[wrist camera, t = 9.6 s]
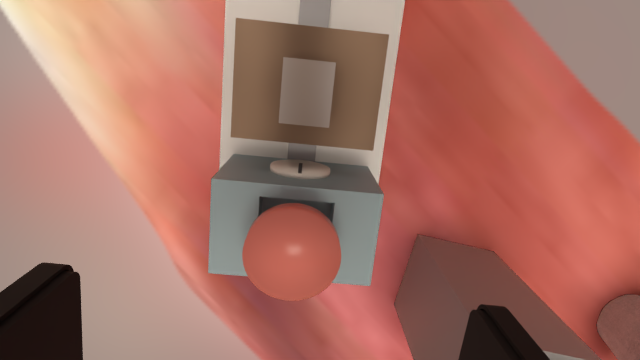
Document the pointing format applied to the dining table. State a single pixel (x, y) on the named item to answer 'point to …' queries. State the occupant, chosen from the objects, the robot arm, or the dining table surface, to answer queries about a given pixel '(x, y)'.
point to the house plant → (621, 326)
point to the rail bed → (321, 11)
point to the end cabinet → (295, 187)
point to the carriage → (307, 84)
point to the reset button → (292, 252)
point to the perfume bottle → (471, 302)
